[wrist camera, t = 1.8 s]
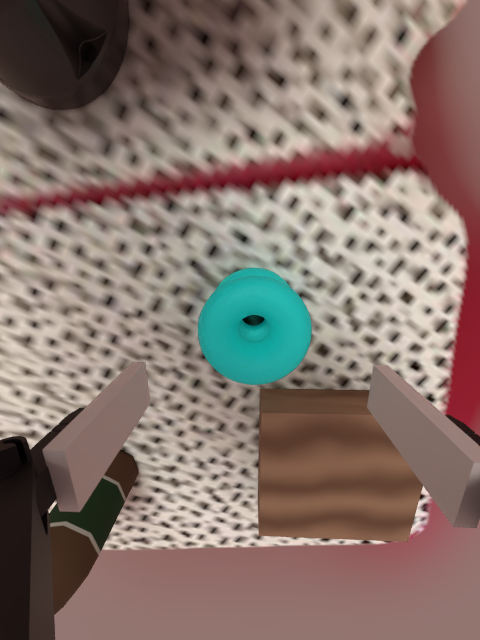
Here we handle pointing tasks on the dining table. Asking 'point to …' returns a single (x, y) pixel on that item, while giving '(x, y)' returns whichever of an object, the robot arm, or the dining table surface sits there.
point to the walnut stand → (330, 469)
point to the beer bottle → (87, 529)
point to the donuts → (254, 327)
